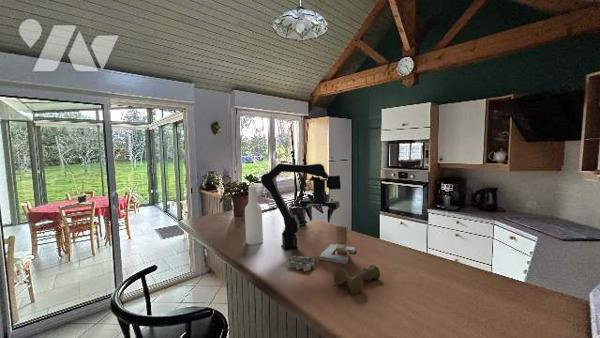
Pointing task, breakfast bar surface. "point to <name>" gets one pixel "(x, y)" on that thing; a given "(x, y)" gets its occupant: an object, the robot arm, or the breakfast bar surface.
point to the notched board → (330, 256)
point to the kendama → (356, 278)
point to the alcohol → (253, 219)
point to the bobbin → (341, 241)
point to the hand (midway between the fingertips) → (319, 221)
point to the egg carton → (297, 262)
